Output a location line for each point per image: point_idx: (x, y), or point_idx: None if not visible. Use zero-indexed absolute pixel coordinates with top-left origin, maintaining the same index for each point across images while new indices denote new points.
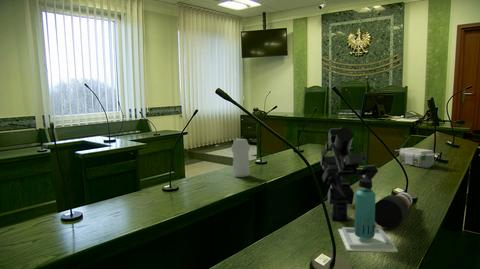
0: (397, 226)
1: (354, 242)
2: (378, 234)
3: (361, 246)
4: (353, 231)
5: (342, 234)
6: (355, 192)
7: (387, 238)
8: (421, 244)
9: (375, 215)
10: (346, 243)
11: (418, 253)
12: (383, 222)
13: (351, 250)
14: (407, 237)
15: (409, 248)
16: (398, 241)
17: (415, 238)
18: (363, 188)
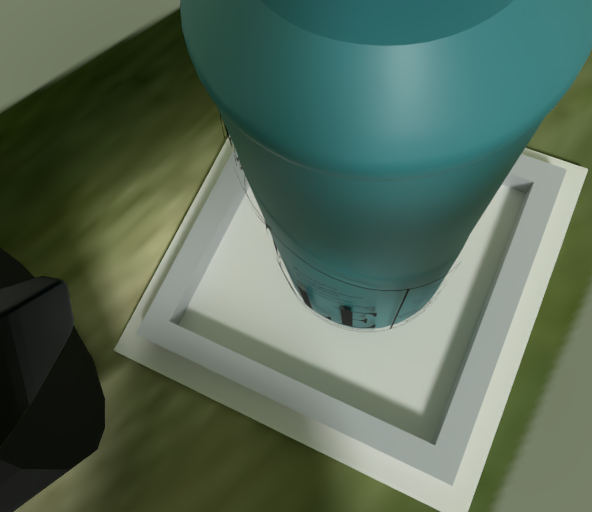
0: (20, 264)
1: (470, 242)
2: (206, 291)
3: None
4: (362, 410)
5: (487, 400)
6: (565, 80)
7: (229, 165)
8: (58, 100)
9: (67, 426)
10: (542, 247)
11: (172, 25)
12: (64, 357)
13: (553, 161)
14: (48, 202)
15: (167, 82)
16: (151, 174)
17: (16, 173)
18: (332, 37)
